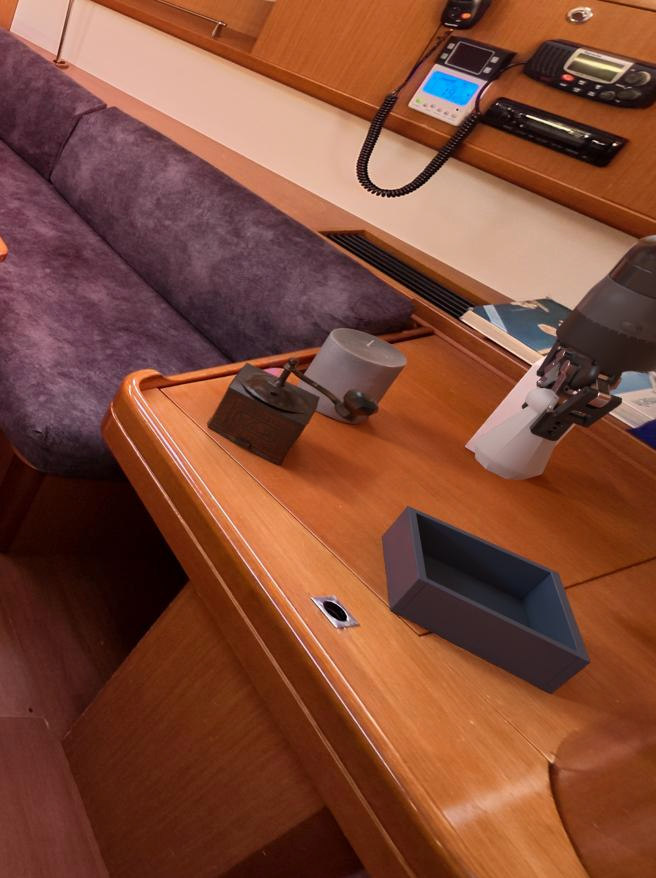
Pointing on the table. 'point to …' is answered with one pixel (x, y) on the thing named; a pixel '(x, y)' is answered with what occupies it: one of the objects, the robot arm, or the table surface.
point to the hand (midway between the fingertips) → (537, 424)
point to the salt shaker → (517, 442)
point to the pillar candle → (353, 368)
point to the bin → (483, 599)
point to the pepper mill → (277, 410)
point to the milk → (512, 405)
